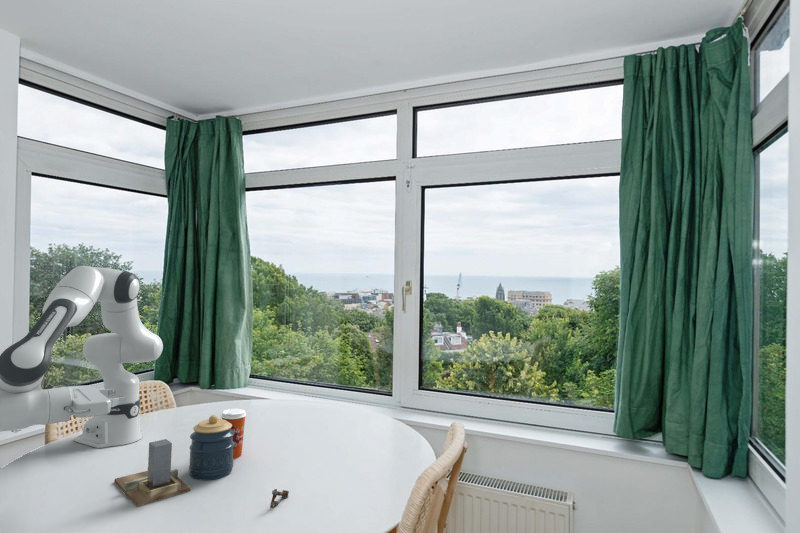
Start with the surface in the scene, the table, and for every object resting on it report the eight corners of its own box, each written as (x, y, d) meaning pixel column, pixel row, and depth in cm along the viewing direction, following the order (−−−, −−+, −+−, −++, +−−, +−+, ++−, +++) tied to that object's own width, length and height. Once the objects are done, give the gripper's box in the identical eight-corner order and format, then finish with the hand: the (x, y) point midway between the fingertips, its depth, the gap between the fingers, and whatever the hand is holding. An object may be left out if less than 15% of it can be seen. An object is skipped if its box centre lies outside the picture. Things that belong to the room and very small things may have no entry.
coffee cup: (236, 461, 157) (238, 415, 157) (214, 458, 158) (216, 413, 159) (249, 452, 165) (251, 409, 165) (228, 450, 167) (229, 407, 167)
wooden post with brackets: (266, 507, 125) (270, 488, 127) (279, 507, 132) (283, 489, 134) (272, 508, 124) (276, 489, 126) (285, 508, 131) (289, 490, 133)
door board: (136, 506, 125) (136, 495, 125) (114, 482, 139) (114, 471, 139) (190, 490, 135) (190, 480, 135) (164, 469, 149) (165, 459, 149)
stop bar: (152, 494, 129) (154, 446, 130) (147, 489, 133) (149, 442, 133) (169, 490, 133) (171, 443, 133) (164, 484, 136) (165, 439, 136)
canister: (206, 484, 139) (208, 424, 139) (179, 474, 146) (181, 416, 146) (242, 470, 150) (244, 414, 150) (215, 460, 157) (217, 407, 157)
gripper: (69, 401, 116) (132, 392, 126) (53, 384, 131) (110, 377, 140) (68, 427, 116) (131, 416, 126) (52, 407, 131) (109, 399, 140)
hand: (120, 395), depth 133 cm, fingers open, 8 cm apart
